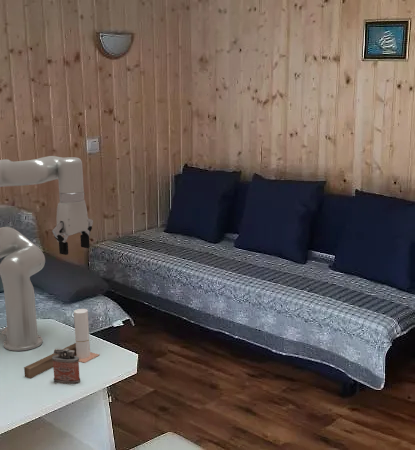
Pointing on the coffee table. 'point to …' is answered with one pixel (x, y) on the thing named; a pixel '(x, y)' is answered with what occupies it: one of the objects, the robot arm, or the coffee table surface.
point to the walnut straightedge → (43, 364)
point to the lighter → (66, 367)
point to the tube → (82, 333)
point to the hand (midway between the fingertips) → (74, 250)
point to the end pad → (92, 355)
